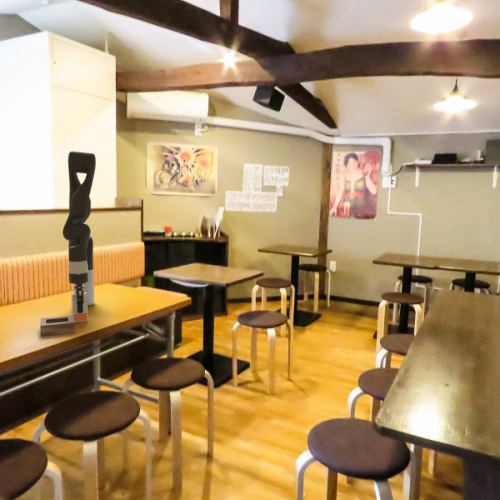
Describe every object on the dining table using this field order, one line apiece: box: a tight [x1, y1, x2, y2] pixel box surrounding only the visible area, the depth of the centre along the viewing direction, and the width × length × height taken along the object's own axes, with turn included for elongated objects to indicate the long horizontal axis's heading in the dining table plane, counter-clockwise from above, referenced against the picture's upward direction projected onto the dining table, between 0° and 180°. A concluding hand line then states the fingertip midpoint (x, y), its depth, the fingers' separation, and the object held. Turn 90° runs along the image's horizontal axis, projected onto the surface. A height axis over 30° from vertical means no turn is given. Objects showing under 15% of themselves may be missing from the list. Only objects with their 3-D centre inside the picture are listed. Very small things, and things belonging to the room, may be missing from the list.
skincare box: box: [70, 292, 89, 323], centre depth 184 cm, size 6×4×12 cm
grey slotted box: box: [39, 314, 76, 337], centre depth 171 cm, size 11×12×4 cm
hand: (79, 311), depth 184 cm, fingers closed on skincare box, 4 cm apart
